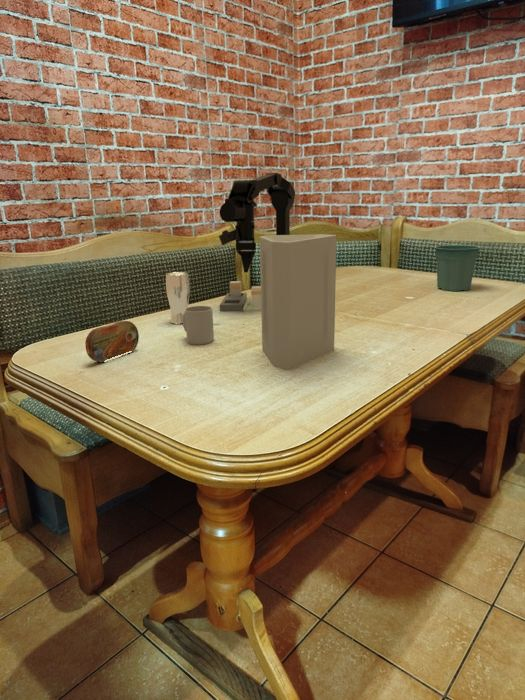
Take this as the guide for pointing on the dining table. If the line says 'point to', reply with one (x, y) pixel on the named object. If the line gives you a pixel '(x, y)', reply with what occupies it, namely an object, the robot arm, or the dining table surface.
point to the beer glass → (177, 294)
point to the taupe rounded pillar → (297, 297)
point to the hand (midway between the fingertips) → (245, 270)
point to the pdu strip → (234, 298)
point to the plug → (256, 296)
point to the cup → (198, 324)
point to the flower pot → (455, 266)
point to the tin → (111, 340)
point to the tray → (250, 307)
